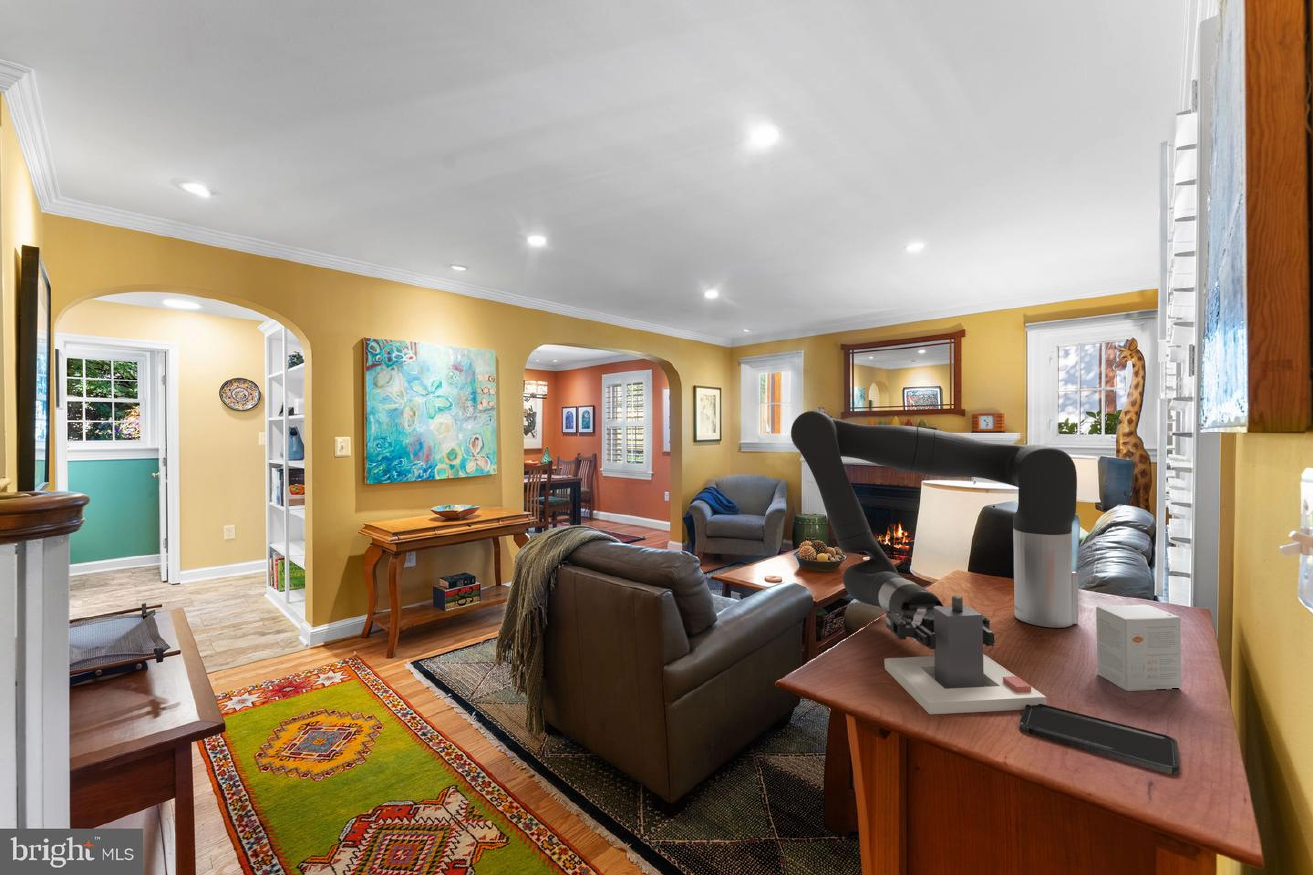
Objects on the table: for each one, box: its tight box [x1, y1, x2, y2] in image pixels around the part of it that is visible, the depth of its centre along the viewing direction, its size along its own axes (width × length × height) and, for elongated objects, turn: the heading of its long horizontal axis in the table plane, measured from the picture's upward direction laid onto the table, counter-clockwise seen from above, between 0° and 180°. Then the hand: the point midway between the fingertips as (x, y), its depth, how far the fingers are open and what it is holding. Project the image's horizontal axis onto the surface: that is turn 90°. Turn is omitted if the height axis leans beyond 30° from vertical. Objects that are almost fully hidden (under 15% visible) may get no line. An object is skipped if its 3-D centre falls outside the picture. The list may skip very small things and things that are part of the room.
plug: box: [933, 595, 984, 689], centre depth 83 cm, size 5×4×13 cm
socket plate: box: [883, 653, 1047, 715], centre depth 83 cm, size 16×14×2 cm
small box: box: [1095, 604, 1182, 692], centre depth 82 cm, size 8×6×10 cm
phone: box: [1019, 704, 1180, 775], centre depth 69 cm, size 8×1×15 cm
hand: (962, 641), depth 82 cm, fingers open, 8 cm apart
